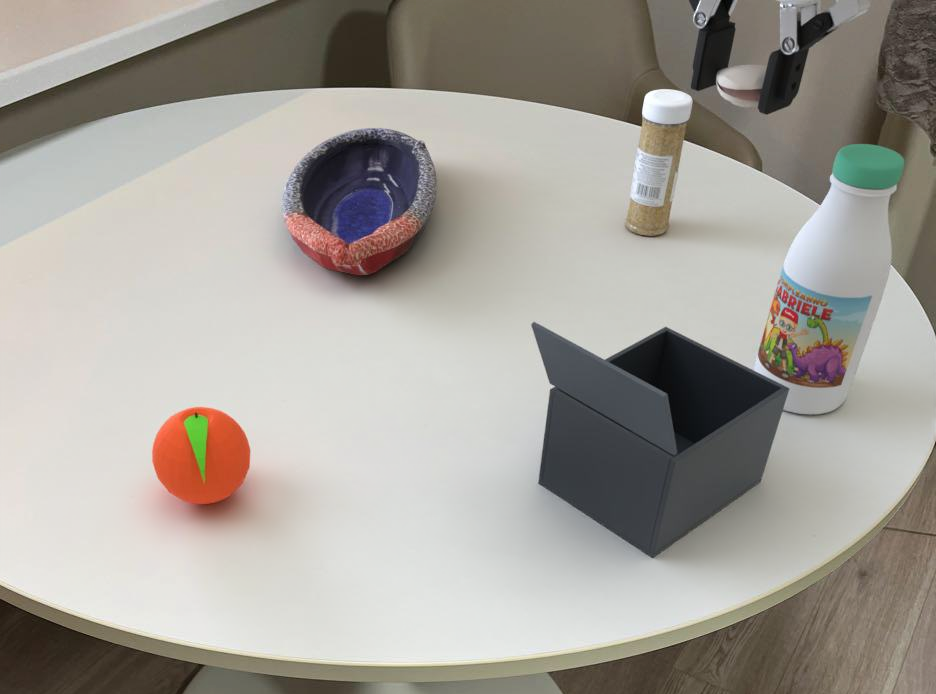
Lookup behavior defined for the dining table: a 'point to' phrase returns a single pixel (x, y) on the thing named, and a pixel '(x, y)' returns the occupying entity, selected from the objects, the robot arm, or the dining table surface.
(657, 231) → the sprinkles bottle
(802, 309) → the milk bottle
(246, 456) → the clementine
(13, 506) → the dining table surface
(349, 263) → the dish
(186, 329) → the dining table surface
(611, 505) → the bin
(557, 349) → the flap
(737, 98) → the macaroon
